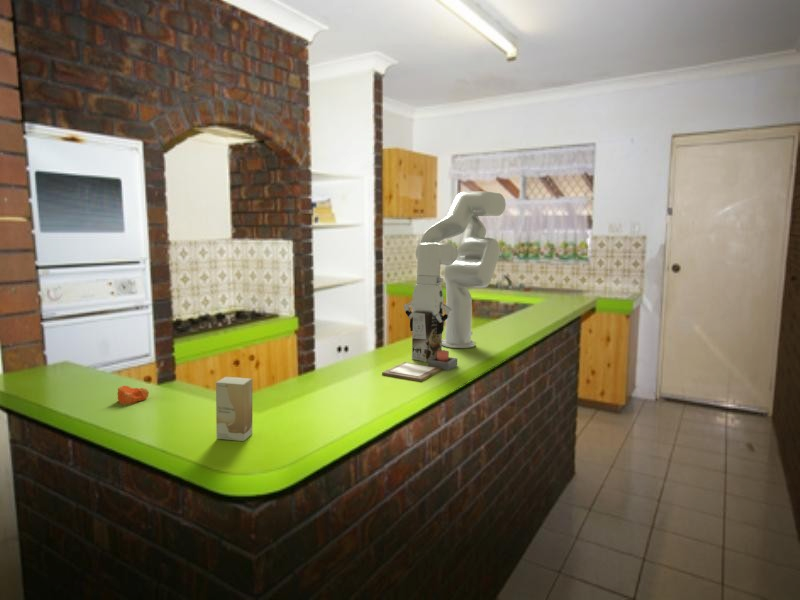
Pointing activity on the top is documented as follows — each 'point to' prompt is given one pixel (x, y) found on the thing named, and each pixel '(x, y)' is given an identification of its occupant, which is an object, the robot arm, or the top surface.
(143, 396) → the rock
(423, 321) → the coffee box
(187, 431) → the top surface
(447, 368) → the button collar
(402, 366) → the board
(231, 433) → the skincare box
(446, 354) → the button
